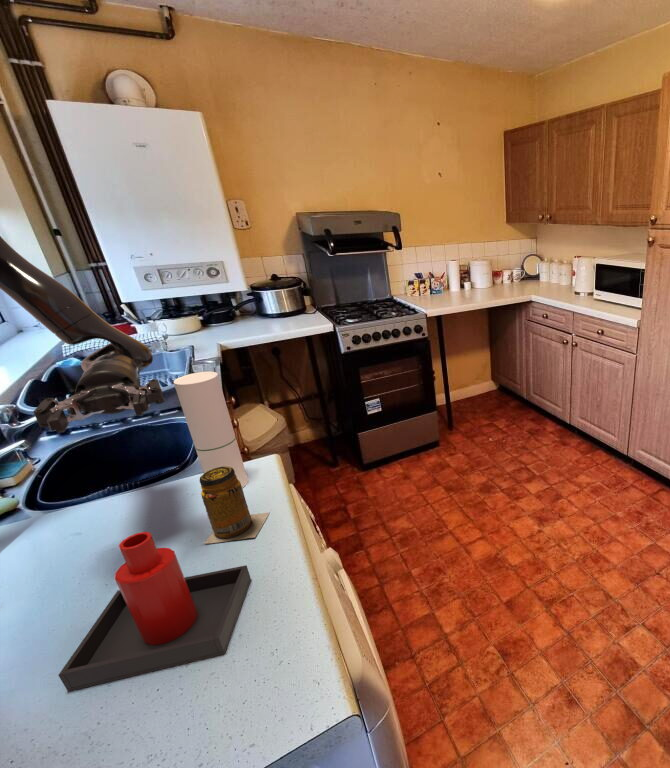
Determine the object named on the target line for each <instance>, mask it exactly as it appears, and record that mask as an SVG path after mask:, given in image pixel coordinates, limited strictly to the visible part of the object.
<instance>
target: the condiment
mask: <svg viewBox="0 0 670 768" xmlns="http://www.w3.org/2000/svg"><path fill="white" fill-rule="evenodd" d="M199 483H200V488H201V493H200V495H201V499H202V502H203V506H204V507H205V512H206V514H207V517H208V520H209V523H210V525H211V529H212V533H211V534H210V535H209V536H208V538H207V539H206V540H205V542H204V543H203V544H204V545H206V544H217V543H225V542H232V541H238V540H239V541H240V540H246V539H252V538H256V537H257V535H258V534H259V532H260V530H261V529H262V528H263V525H264V524H265V522H266V520H267V518H268V516H269V514H270V512H263V513H262V512H261V513H250V510H249V505H248V503H247V499H246V497H245V493H244V491H243V489H244V488H242V486H241V483H240V481H239V480H238V479H237V477H236V475H235V471H234V469H233V468H231V467H226V466H223V467H218V468H214V469H211V470H209V471H207V472H205V473H202V475H200V477H199Z"/></svg>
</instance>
